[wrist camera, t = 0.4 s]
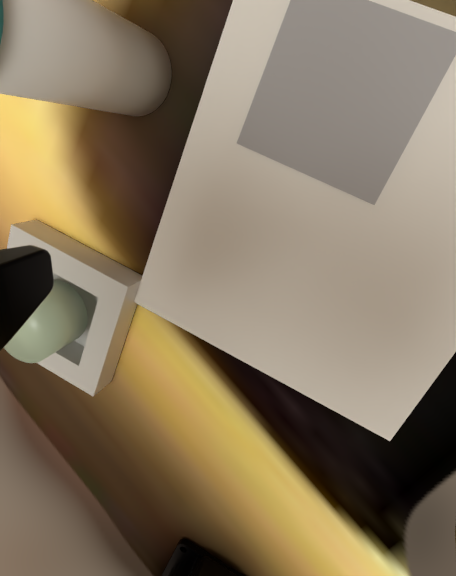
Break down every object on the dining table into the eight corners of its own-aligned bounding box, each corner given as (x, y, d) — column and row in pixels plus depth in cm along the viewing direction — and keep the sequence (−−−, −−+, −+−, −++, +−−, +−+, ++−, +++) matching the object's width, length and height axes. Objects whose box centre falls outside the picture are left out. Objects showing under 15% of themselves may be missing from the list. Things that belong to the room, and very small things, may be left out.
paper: (389, 434, 22) (390, 443, 22) (139, 298, 25) (132, 303, 24) (640, 89, 15) (653, 85, 15) (255, -50, 18) (250, -59, 17)
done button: (79, 352, 26) (44, 375, 23) (27, 322, 26) (-13, 341, 24) (94, 298, 24) (59, 316, 21) (39, 267, 25) (-2, 281, 22)
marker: (158, 131, 22) (-96, 100, 10) (92, 100, 22) (-220, 38, 11) (184, 44, 20) (-84, -117, 8) (112, 14, 21) (-231, -174, 9)
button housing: (111, 380, 28) (93, 396, 26) (15, 324, 29) (-9, 336, 27) (146, 277, 24) (128, 287, 23) (36, 219, 26) (11, 224, 24)
